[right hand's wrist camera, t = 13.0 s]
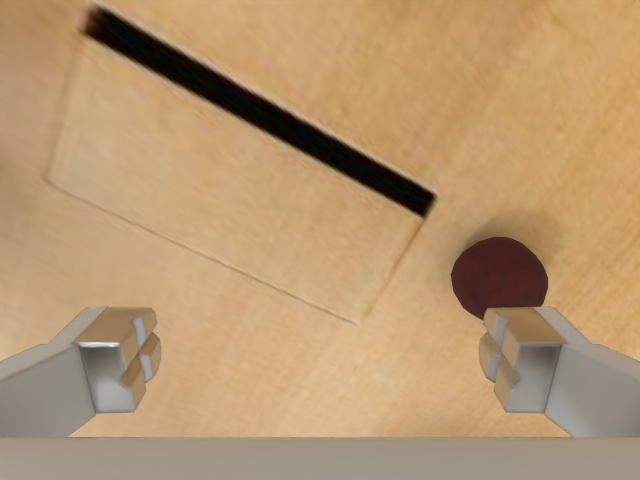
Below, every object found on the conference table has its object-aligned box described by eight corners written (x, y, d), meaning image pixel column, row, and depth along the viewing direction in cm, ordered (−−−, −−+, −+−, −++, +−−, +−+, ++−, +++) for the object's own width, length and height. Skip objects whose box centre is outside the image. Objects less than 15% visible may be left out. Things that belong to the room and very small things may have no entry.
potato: (517, 296, 40) (556, 338, 34) (438, 297, 40) (461, 339, 34) (529, 225, 38) (574, 256, 31) (445, 227, 38) (472, 258, 31)
